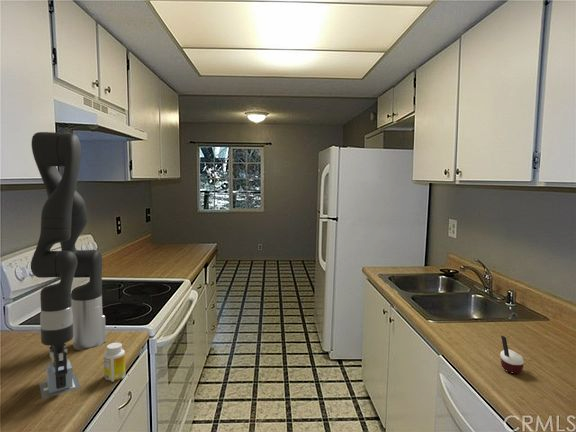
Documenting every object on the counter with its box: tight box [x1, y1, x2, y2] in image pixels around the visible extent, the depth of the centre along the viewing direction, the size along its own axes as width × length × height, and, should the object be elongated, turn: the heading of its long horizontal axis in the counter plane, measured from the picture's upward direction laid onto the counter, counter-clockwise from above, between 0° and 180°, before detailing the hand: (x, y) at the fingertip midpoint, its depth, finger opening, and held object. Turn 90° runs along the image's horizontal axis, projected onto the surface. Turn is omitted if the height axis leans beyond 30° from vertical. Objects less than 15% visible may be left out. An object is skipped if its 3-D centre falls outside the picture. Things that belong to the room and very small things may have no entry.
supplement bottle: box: [103, 342, 127, 382], centre depth 109 cm, size 6×6×10 cm
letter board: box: [38, 373, 82, 400], centre depth 104 cm, size 9×9×1 cm
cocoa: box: [500, 335, 525, 374], centre depth 119 cm, size 10×6×12 cm, turn 89°
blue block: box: [45, 359, 73, 393], centre depth 104 cm, size 6×6×6 cm
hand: (59, 380), depth 104 cm, fingers open, 8 cm apart
